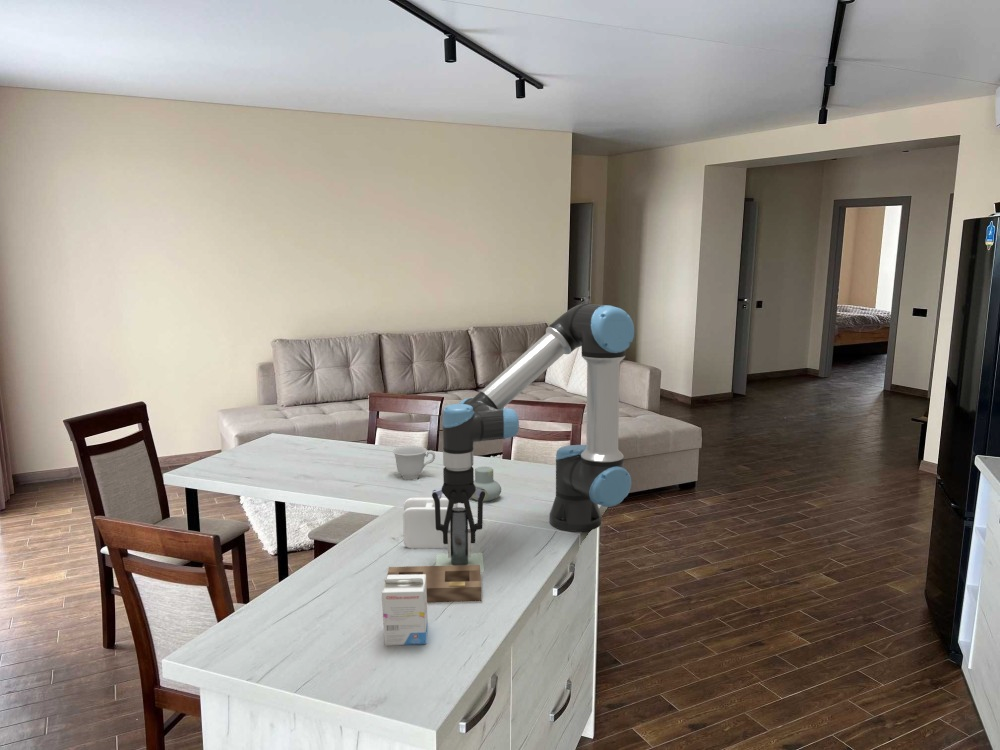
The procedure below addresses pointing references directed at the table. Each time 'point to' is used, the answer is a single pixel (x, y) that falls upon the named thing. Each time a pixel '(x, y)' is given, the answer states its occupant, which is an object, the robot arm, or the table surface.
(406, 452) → the teacup
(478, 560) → the mat
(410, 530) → the cable organizer
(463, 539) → the plug
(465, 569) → the socket block
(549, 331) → the robot arm
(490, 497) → the air freshener
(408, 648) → the table surface
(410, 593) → the ink box
